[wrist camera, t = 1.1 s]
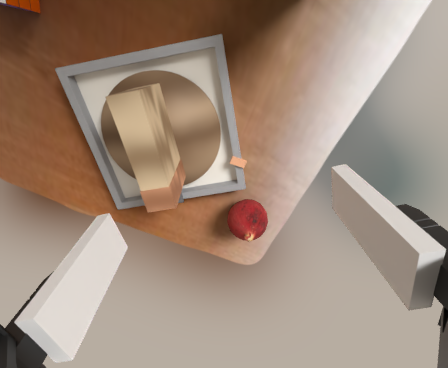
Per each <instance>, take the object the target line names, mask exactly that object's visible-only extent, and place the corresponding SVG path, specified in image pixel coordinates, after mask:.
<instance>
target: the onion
mask: <svg viewBox="0 0 448 368" xmlns="http://www.w3.org/2000/svg"><path fill="white" fill-rule="evenodd" d="M227 223H228V226H229V229H230V231H231V232H232V233H233V234H234V235H235V236H236V237H237V238H239V239H242V240H246V241H248V242H249V241H252V240H255V239H257V238H259V237H260V236H261V235H262V234H263V233H264V232H265V230H266V227H267V223H268V219H267V213H266V211H265V209H264V208H263V206H262V205H261V204H260V203H258V202H256V201H254V200H249V199H245V200H242V201H239V202H237V203H236V204H235V205H233V206H232V208H231V209H230V211H229V213H228V219H227Z"/></svg>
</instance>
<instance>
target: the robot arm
mask: <svg viewBox="0 0 448 368" xmlns="http://www.w3.org/2000/svg"><path fill="white" fill-rule="evenodd" d="M331 174H332V208H333V209H334V211H335V212H336V214H337V215H338V216H339V218H340V219H341V220H342V222H343V223H344V224H345V226H346V227H347V228H348V230H349V231H350V232H351V234H352V235H353V236H354V238H355V239H356V240H357V242H358V243H359V245H360V246H361V247H362V249H363V250H364V251H365V253H366V254H367V255H368V257H369V258H370V259H371V261H372V262H373V263H374V265H375V266H376V267H377V269H378V270H379V271H380V273H381V274H382V275H383V277H384V278H385V279H386V281H387V282H388V283H389V285H390V286H391V287H392V289H393V290H394V291H395V293H396V294H397V295H398V297H399V298H400V299H401V301H402V302H403V303H404V305H405V306H406V307H407V309H408V310H414V309H421V308H428V307H431V306H432V302H433V298H434V296H435V297H436V298H437V299H438V300H439V302H440V303H441V304H442V305H443V309H442V313H441V316H440V320H439V323H438V325H439V326H441V328H440V342H439V355H438V367H437V368H448V231H447V230H445V229H444V228H443V227H441V226H438V224H437V223H436V222H435V221H433V220H432V219H430V218H429V217H428V216H427V215H426V214H424V213H423V212H422V211H420V210H419V209H416V208H414V207H411V206H409V205H407V204H404V205H399V206H394V205H393V204H392V203H391V202H390V201H388V200H387V199H386V198H385V197H384V196H382V195H381V194H380V193H379V192H378V191H377V190H375V189H374V188H373V187H372V186H370V185H369V184H368V183H367V182H366V181H365V180H364V179H362V178H361V177H360V176H359V175H357V174H356V173H355V172H354V171H353V170H352V169H351V168H349V167H348V166H347V165H345V164H344V165H339V166H335V167H331ZM127 248H128V246H127V245H126V243H125V241H124V239H123V238H122V235H121V233H120V232H119V230H118V228H117V226H116V224H115V222H114V221H113V219H112V217H111V215H110V213H108V214H103V215H99V216H97V217H96V218H95V220H94V221H93V222H92V224H91V225H90V226H89V227H88V229H87V230H86V231H85V233H84V234H83V235H82V236H81V238H80V239H79V240H78V241H77V243H76V244H75V245H74V247H73V248H72V249H71V250H70V252H69V253H68V254H67V256H66V257H65V258H64V259H63V261H62V262H61V263H60V264H59V266H58V267H57V268H56V269H55V271H53V272H52V273H51V274H50V275H49V276H48V277H47V278H46V279H44V281H43V282H42V283H41V284H40V285H39V286H38V288H37V289H36V291H35V292H34V293H33V294H32V295H31V296H30V299H29V300H28V301H26V303H25V304H24V305H23V306H22V308H21V309H20V310H19V312H18V313H17V314H16V315H15V316H14V318H13V319H12V320H11V322H10V323H9V324H8V325H7V327H6V328H4V327H3V326H2V325H0V368H46V367H45V366H44V365H43V364H42V363H43V361H44V360H45V358H46V356H47V355H48V356H49V357H50V358H51V359H52V360H53V361H54V362H55V363H57V362H64V361H71V360H73V358H74V356H75V354H76V352H77V350H78V348H79V346H80V344H81V342H82V340H83V338H84V336H85V334H86V332H87V330H88V328H89V326H90V324H91V322H92V319H93V318H94V316H95V313H96V311H97V309H98V307H99V305H100V303H101V301H102V299H103V297H104V295H105V293H106V291H107V289H108V287H109V285H110V283H111V281H112V279H113V277H114V275H115V273H116V271H117V269H118V267H119V265H120V263H121V260H122V258H123V256H124V254H125V252H126V251H127Z"/></svg>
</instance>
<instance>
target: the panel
mask: <svg viewBox="0 0 448 368" xmlns="http://www.w3.org/2000/svg"><path fill="white" fill-rule="evenodd" d="M55 70H56V73H57V75H58V77H59V79H60V81H61V84H62V86H63V88H64V90H65V93H66V95H67V97H68V99H69V102H70V104H71V106H72V108H73V110H74V113H75V115H76V117H77V119H78V122H79V124H80V126H81V128H82V131H83V133H84V135H85V137H86V140H87V142H88V144H89V146H90V148H91V151H92V153H93V155H94V157H95V160H96V162H97V164H98V166H99V169H100V171H101V173H102V175H103V177H104V180H105V182H106V184H107V186H108V189H109V191H110V193H111V195H112V198H113V200H114V202H115V204H116V207H117V209H118V210H119V209H125V208H131V207H137V206H144V205H145V204H144V201H143V199H142V196H141V193H140V191H141V190H140V187H139V184H138V182H137V180H136V179H134V178H133V177H131V176H130V175H128V174H127V173H126V172H125V171H123V170H122V169H121V168H120V167H119V166H118V165H117V163H116V162H115V161H114V160H113V158H112V157H111V155H110V153H109V152H108V150H107V147H106V145H105V142H104V140H103V135H102V131H101V115H102V110H103V106H104V103H105V101H106V98H105V97H106V96H108V95H109V93H110V92H111V91H112V89H113V88H114V87H115V86H116V85H117V84H118V83H119V82H121V81H122V80H124V79H125V78H127V77H128V76H131V75H133V74H135V73H139V72H142V71H150V70H163V71H169V72H173V73H176V74H179V75H181V76H183V77H185V78H187V79H189V80H190V81H192V82H194V83H195V84H196V85H197V86H199V87H200V88H201V89H202V90H203V91H204V92H205V94H206V95H207V96H208V97H209V99H210V100H211V102H212V104H213V105H214V107H215V109H216V112H217V114H218V118H219V122H220V128H221V142H220V148H219V151H218V155H217V157H216V159H215V161H214V163H213V164H212V166H211V167H210V168H209V170H208V171H207V172H206V173H205V174H204V175H203V176H201V177H200V178H199V179H197V180H195V181H194V182H192V183H189V184H187V185H184V186H183V188H182V191H181V194H180V198H179V201H178V203H182V202H184V199H186V198H193V197H199V196H205V195H211V194H217V193H223V192H229V191H235V190H242V189H246V185H245V179H244V173H243V168H244V167H245V164H246V162H247V161H246V160H243V159H241V153H240V147H239V140H238V134H237V127H236V121H235V114H234V108H233V101H232V95H231V88H230V82H229V75H228V69H227V63H226V56H225V50H224V43H223V37H222V34H219V35H214V36H209V37H204V38H199V39H195V40H190V41H185V42H180V43H175V44H171V45H166V46H161V47H156V48H151V49H146V50H142V51H137V52H132V53H127V54H122V55H117V56H113V57H108V58H103V59H98V60H93V61H89V62H84V63H79V64H74V65H69V66H64V67H60V68H55Z"/></svg>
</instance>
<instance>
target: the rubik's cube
mask: <svg viewBox="0 0 448 368" xmlns="http://www.w3.org/2000/svg"><path fill="white" fill-rule="evenodd" d="M0 4H1V5H5V6H9V7H14V8H18V9H22V10H27V11H31V12H35V13H40V4H39V0H0Z"/></svg>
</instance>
